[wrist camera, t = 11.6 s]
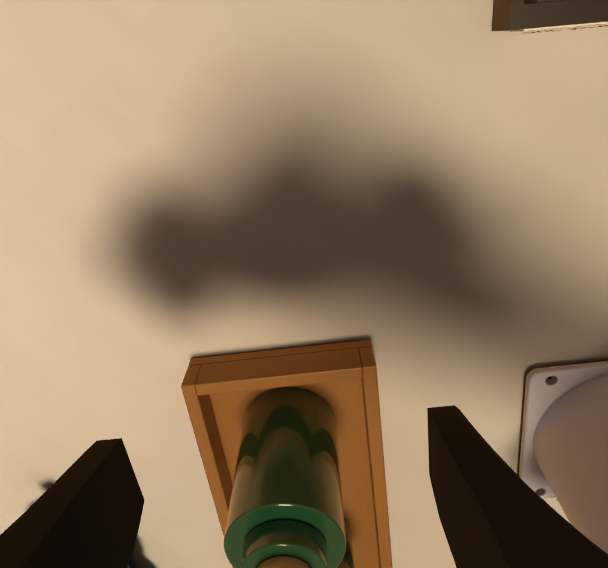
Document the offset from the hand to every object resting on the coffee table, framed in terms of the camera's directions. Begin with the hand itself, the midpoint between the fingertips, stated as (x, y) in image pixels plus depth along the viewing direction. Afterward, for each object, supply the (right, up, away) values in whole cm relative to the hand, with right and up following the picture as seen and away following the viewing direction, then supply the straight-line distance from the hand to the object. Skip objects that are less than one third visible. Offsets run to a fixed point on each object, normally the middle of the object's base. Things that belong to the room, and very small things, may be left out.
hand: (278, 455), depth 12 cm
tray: (+1, -9, +16) cm, 18 cm away
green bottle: (0, -3, +12) cm, 12 cm away
